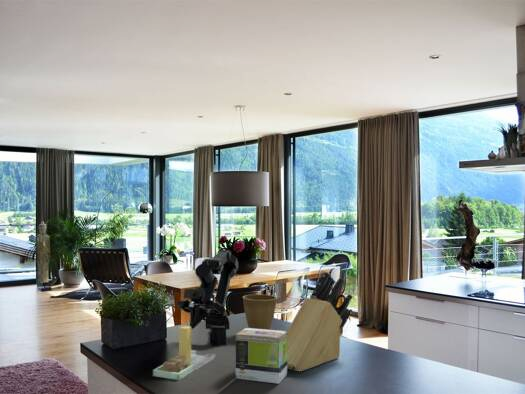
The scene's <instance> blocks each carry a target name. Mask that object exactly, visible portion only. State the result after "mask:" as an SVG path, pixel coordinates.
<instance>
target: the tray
mask: <svg viewBox="0 0 525 394" xmlns="http://www.w3.org/2000/svg"><path fill="white" fill-rule="evenodd" d="M193 372H194V365H191V366H189V367H187V368H186V369H184V370H182V371H181V372H179V373H175V372H168V371H163V364H161V365H159V366H157V367H156V368H154V369H152V377H157V378H163V379H168V380H169V379H170V380H177V381H179V380H182V379H183V378H185V377H186V376H188V375H189V374H191V373H193Z"/></svg>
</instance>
